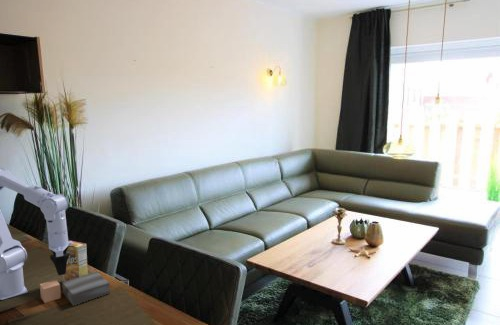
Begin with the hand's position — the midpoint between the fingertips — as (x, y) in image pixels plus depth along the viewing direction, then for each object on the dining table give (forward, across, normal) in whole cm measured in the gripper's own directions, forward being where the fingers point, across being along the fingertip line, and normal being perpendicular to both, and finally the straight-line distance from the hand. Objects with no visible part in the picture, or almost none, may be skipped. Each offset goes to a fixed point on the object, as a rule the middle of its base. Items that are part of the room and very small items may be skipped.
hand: (61, 270), depth 122 cm
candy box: (+10, +11, -4) cm, 16 cm away
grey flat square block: (+10, 0, -7) cm, 12 cm away
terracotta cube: (+10, +3, +4) cm, 11 cm away
